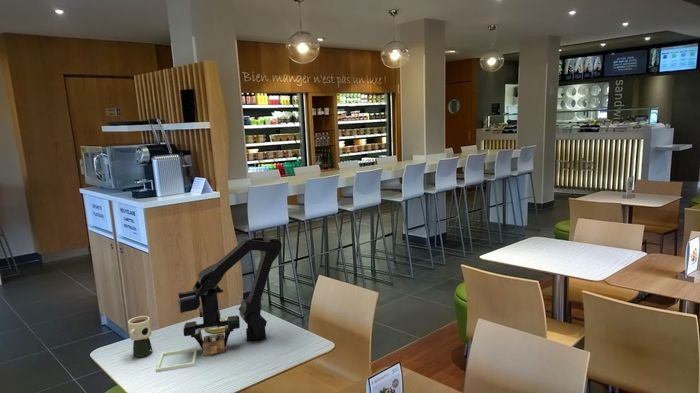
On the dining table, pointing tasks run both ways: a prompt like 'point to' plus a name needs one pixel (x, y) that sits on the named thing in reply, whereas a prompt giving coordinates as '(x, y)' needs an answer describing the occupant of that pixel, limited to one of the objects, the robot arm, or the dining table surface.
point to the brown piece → (213, 345)
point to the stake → (212, 338)
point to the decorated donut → (217, 328)
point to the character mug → (140, 335)
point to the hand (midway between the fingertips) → (214, 348)
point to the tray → (159, 369)
